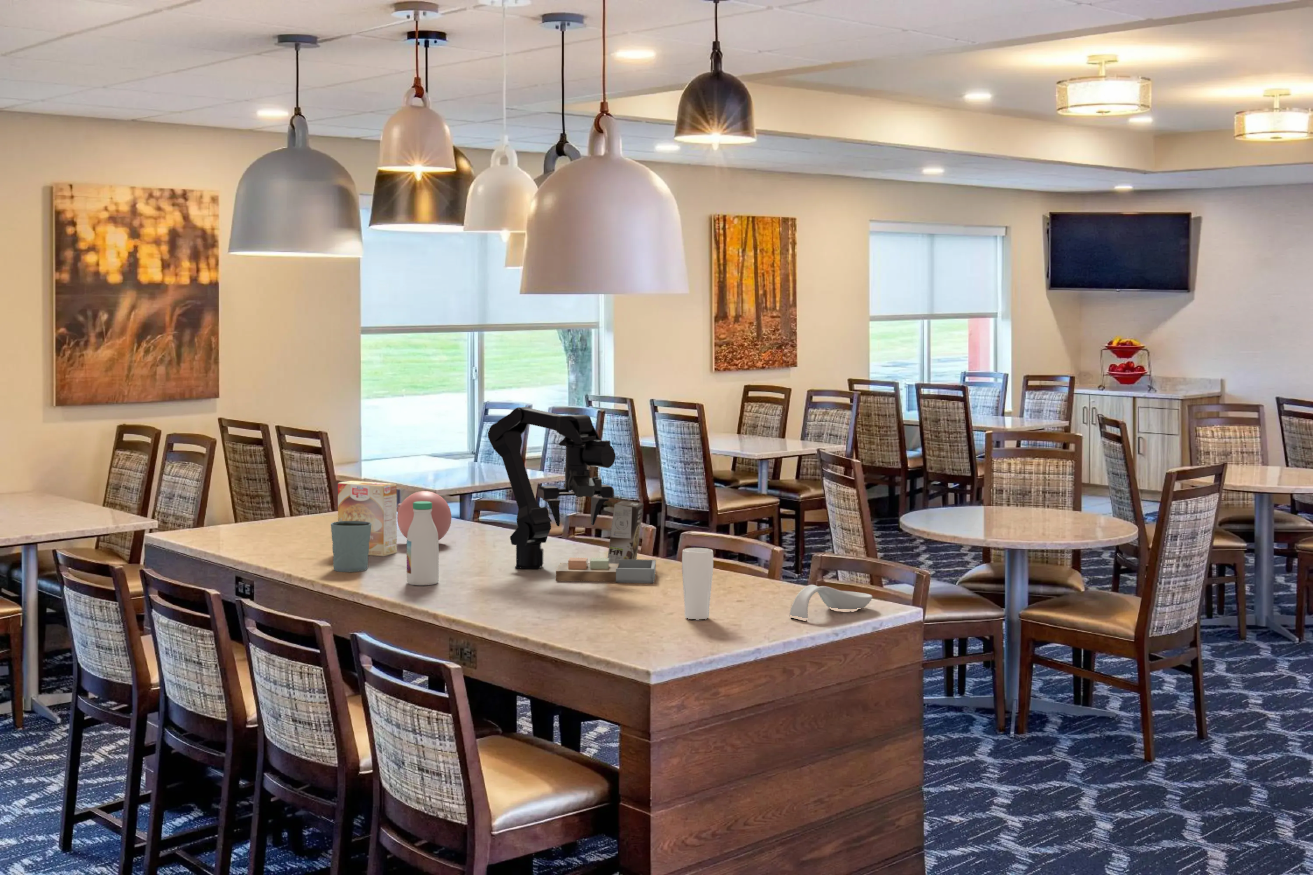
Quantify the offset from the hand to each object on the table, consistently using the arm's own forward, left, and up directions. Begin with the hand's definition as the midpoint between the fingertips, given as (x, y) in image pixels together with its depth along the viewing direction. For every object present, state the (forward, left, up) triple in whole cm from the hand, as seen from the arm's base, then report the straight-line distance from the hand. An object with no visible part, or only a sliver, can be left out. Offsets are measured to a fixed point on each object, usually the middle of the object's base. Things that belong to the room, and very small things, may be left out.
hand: (575, 525), depth 355 cm
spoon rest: (+61, -44, -13) cm, 76 cm away
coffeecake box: (-60, +28, -13) cm, 67 cm away
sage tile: (+7, -4, -10) cm, 13 cm away
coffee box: (+11, +16, -12) cm, 23 cm away
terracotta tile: (+1, -4, -10) cm, 11 cm away
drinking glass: (+31, -52, -13) cm, 62 cm away
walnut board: (+4, -4, -13) cm, 14 cm away
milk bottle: (-36, -16, -13) cm, 41 cm away
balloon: (-49, +46, -13) cm, 68 cm away
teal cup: (-58, +2, -13) cm, 59 cm away
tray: (+16, -4, -13) cm, 20 cm away
